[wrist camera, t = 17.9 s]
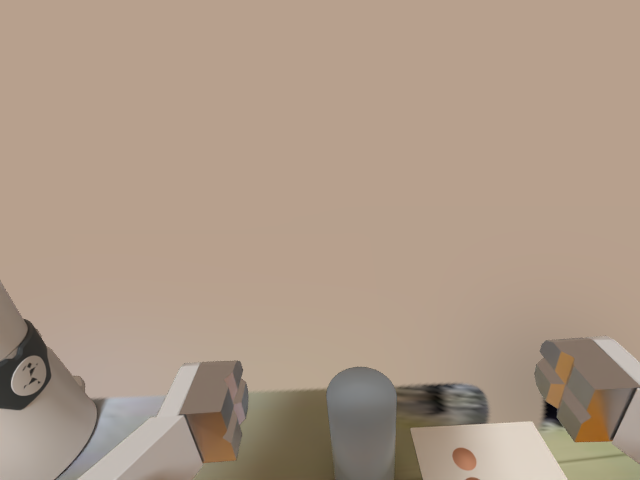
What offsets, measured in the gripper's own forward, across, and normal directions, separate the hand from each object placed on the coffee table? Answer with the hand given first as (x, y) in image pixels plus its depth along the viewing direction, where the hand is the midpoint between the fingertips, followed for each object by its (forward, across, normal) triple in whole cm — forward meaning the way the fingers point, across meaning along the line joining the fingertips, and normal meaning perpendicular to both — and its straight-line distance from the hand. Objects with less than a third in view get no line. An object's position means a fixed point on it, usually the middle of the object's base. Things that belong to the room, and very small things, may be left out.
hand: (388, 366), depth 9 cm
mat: (+12, +12, -28) cm, 33 cm away
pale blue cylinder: (+12, 0, -28) cm, 30 cm away
